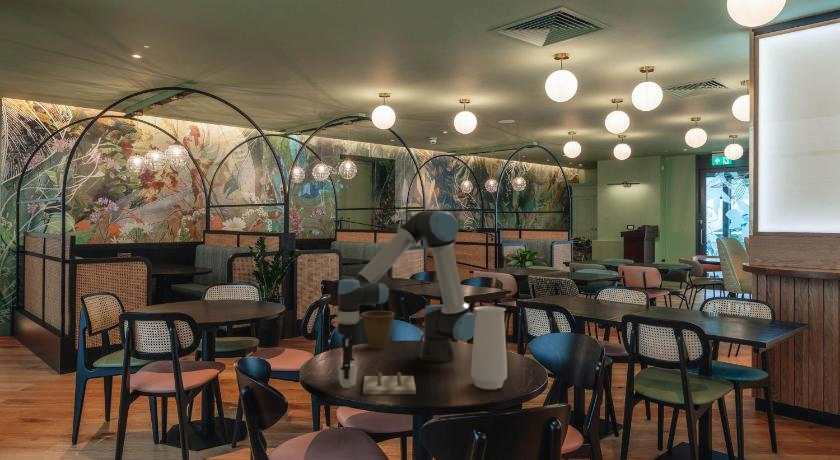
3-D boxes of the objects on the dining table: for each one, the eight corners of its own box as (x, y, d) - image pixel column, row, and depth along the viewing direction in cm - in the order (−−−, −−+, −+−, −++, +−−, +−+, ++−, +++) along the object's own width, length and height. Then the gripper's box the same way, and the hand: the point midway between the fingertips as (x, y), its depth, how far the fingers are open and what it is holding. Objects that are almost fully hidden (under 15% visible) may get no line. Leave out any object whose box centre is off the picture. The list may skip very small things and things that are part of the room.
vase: (497, 392, 206) (498, 312, 206) (464, 386, 213) (465, 309, 213) (512, 384, 217) (513, 307, 217) (480, 378, 224) (481, 304, 224)
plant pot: (365, 343, 284) (366, 310, 284) (396, 344, 282) (396, 311, 282) (358, 350, 269) (358, 315, 269) (390, 351, 267) (390, 316, 267)
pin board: (413, 379, 222) (413, 369, 222) (415, 394, 204) (415, 382, 204) (364, 379, 221) (364, 369, 221) (362, 394, 203) (363, 382, 203)
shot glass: (360, 382, 217) (360, 363, 217) (352, 387, 211) (352, 367, 211) (343, 380, 220) (343, 361, 219) (334, 385, 213) (335, 366, 213)
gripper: (340, 316, 226) (339, 374, 226) (335, 328, 203) (334, 392, 204) (360, 317, 226) (359, 374, 227) (357, 328, 204) (356, 392, 204)
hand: (347, 383), depth 215 cm, fingers open, 10 cm apart
